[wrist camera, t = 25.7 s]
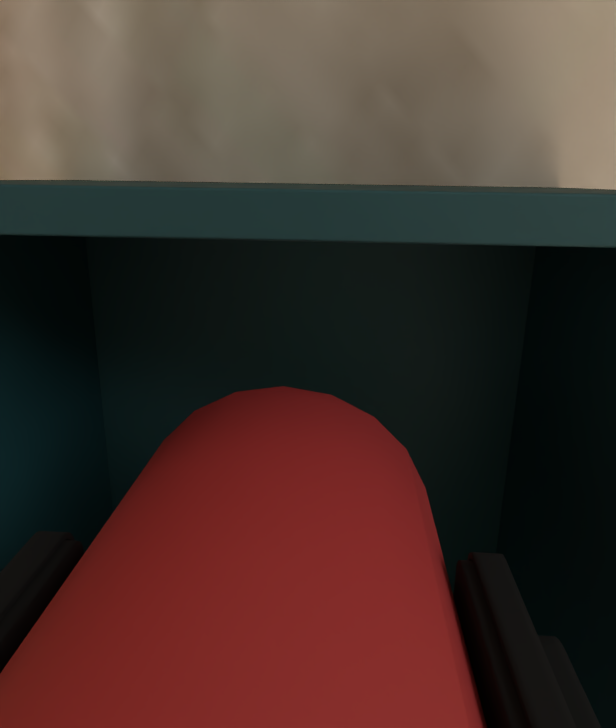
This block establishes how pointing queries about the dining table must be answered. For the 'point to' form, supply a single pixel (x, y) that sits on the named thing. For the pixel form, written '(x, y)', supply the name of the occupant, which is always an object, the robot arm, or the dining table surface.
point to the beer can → (256, 587)
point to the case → (330, 357)
